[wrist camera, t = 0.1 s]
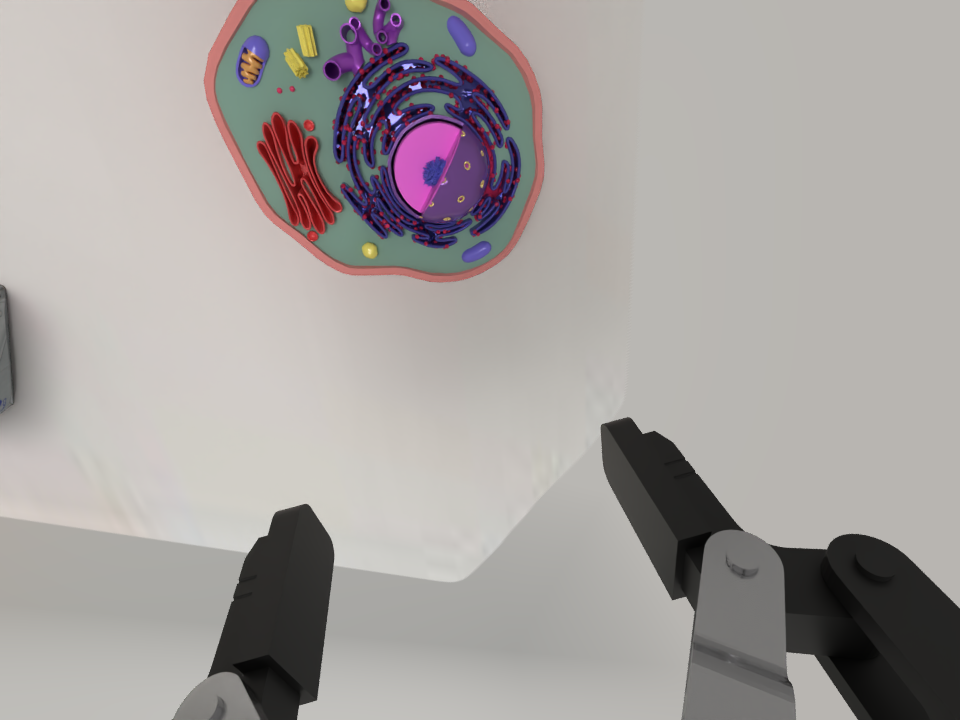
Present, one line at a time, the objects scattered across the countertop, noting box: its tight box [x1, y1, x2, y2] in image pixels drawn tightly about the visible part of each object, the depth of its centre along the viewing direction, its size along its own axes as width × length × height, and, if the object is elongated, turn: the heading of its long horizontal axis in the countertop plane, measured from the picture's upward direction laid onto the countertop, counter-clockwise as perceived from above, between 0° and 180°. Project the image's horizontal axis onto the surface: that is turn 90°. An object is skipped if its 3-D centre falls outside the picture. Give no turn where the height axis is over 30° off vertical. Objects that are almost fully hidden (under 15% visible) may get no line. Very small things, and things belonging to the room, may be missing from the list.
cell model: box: [204, 0, 544, 282], centre depth 28 cm, size 17×20×11 cm
